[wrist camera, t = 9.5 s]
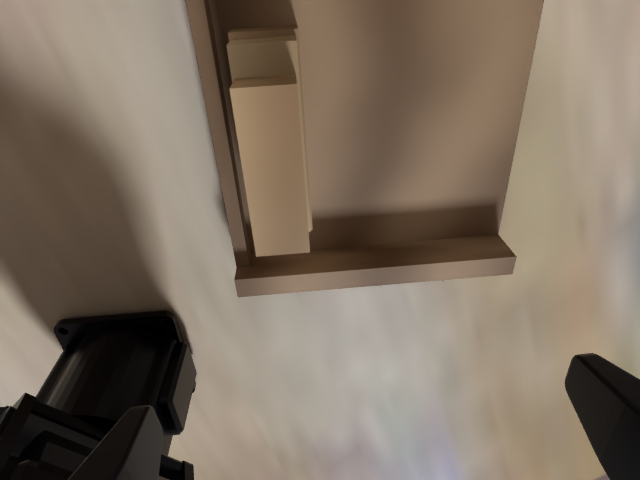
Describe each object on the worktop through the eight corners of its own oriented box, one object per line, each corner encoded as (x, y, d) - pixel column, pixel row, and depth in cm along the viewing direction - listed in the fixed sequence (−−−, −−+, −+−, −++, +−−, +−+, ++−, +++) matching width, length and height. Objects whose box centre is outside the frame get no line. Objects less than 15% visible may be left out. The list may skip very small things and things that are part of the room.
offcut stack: (259, 217, 20) (253, 274, 16) (232, 28, 16) (215, 44, 12) (310, 213, 20) (316, 269, 16) (297, 24, 16) (300, 38, 12)
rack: (243, 260, 22) (237, 297, 20) (184, -67, 15) (164, -76, 12) (487, 240, 23) (512, 274, 20) (546, -88, 15) (598, -101, 13)
